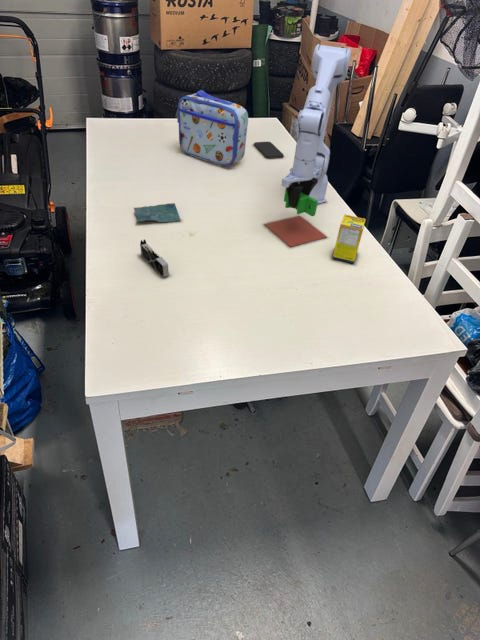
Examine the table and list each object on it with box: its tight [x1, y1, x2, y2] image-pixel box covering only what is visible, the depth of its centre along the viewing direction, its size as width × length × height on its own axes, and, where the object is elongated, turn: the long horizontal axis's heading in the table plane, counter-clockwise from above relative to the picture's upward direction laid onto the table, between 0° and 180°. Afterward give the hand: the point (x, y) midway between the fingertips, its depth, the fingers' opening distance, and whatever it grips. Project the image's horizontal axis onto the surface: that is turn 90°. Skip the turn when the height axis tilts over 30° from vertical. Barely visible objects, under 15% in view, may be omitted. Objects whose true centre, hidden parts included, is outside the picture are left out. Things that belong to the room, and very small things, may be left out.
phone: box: [253, 141, 285, 159], centre depth 181 cm, size 7×1×15 cm
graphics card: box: [139, 239, 170, 278], centre depth 116 cm, size 12×3×5 cm, turn 37°
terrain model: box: [133, 202, 181, 223], centre depth 136 cm, size 13×8×2 cm, turn 108°
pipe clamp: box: [283, 189, 319, 217], centre depth 130 cm, size 11×4×5 cm, turn 42°
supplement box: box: [332, 214, 367, 265], centre depth 124 cm, size 6×6×11 cm
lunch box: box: [175, 89, 249, 167], centre depth 165 cm, size 28×10×22 cm, turn 58°
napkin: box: [264, 215, 327, 248], centre depth 136 cm, size 13×14×1 cm
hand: (297, 204), depth 131 cm, fingers closed on pipe clamp, 4 cm apart
